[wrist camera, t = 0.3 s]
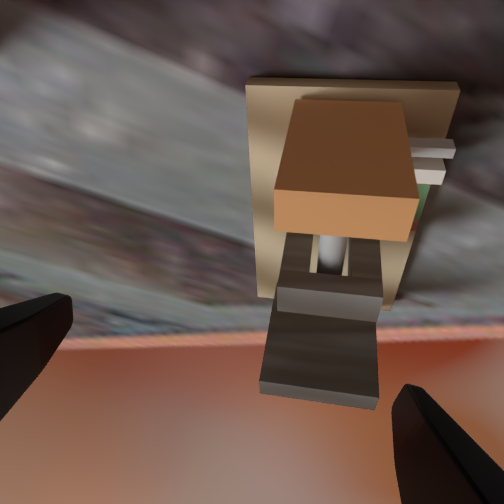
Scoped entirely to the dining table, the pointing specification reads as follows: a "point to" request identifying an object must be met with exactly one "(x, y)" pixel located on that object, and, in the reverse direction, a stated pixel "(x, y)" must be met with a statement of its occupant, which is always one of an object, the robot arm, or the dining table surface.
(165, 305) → the dining table surface
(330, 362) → the wooden base with posts
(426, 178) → the tell-tale marker
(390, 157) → the plunger
